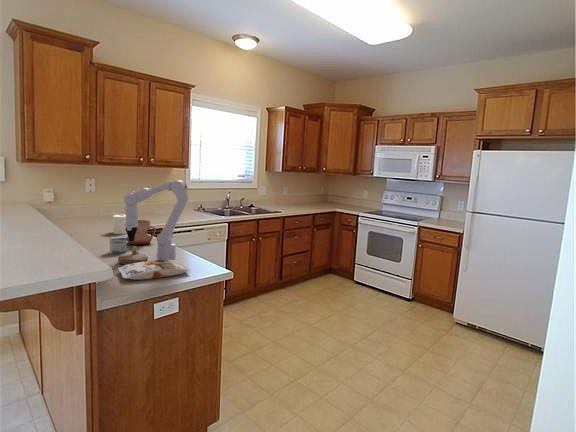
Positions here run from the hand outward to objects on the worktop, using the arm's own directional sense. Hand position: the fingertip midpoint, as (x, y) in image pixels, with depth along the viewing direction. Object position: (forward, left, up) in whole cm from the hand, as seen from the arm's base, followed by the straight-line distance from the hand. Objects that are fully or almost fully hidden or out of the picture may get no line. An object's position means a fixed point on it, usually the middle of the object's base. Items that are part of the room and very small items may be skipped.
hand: (131, 241), depth 188 cm
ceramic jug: (0, -33, -10) cm, 35 cm away
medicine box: (+9, -12, -10) cm, 18 cm away
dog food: (-14, +26, -10) cm, 31 cm away
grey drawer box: (-2, -1, -9) cm, 10 cm away
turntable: (-2, +8, -8) cm, 12 cm away
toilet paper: (+17, -64, -10) cm, 67 cm away
